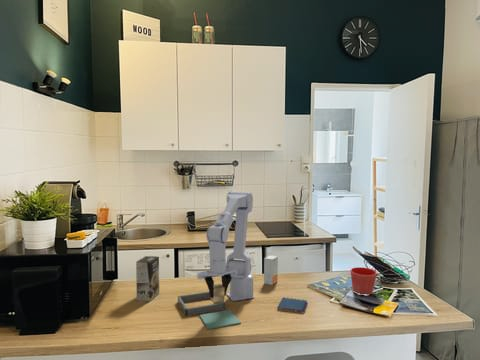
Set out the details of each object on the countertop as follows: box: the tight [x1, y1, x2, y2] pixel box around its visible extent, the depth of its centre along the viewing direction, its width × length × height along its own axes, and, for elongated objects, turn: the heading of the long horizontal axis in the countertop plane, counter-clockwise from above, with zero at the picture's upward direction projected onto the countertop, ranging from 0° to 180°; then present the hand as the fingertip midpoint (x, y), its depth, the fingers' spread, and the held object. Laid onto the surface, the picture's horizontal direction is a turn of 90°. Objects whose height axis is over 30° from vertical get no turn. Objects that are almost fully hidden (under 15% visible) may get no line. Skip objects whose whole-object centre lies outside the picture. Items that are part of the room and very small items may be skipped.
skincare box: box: [263, 255, 279, 286], centre depth 171 cm, size 6×4×12 cm
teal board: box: [199, 309, 242, 330], centre depth 133 cm, size 12×11×1 cm
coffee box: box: [135, 255, 160, 302], centre depth 154 cm, size 9×6×16 cm
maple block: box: [210, 283, 225, 304], centre depth 134 cm, size 4×4×5 cm
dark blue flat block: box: [276, 297, 309, 314], centre depth 144 cm, size 10×11×2 cm
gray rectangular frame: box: [177, 291, 226, 317], centre depth 145 cm, size 16×14×2 cm
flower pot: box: [350, 266, 377, 295], centre depth 158 cm, size 11×11×10 cm
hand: (217, 295), depth 133 cm, fingers closed on maple block, 4 cm apart
